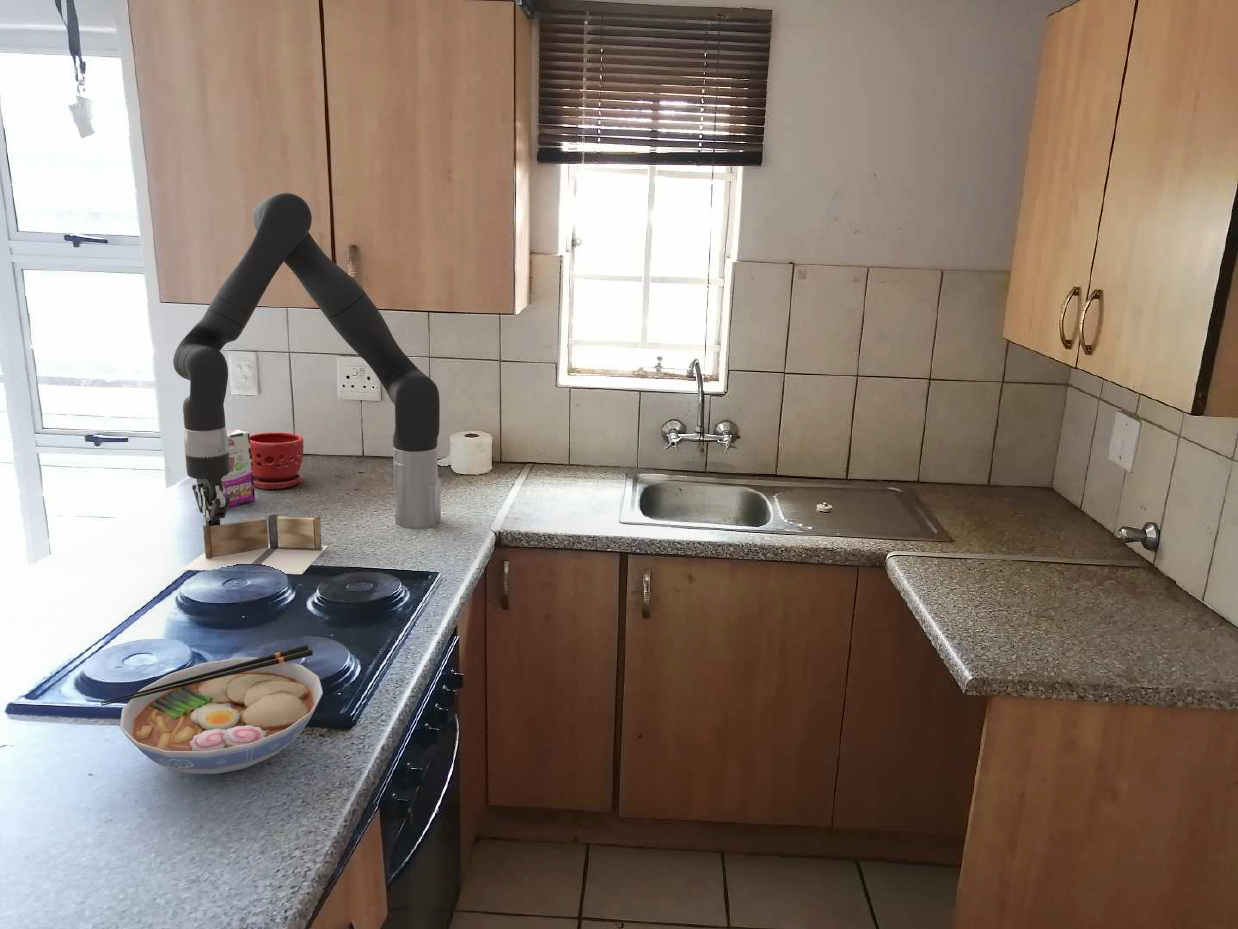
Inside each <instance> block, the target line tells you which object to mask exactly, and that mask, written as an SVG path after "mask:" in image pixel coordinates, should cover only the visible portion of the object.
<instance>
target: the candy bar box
mask: <svg viewBox="0 0 1238 929" xmlns="http://www.w3.org/2000/svg"><path fill="white" fill-rule="evenodd" d="M226 432H227V436H228V446H229V459H230V473H229V474H228V475H226V476H224V477H222V479H221V480H222V484H223V485H224V494H223V496H224V497H229V499H230V503H229V506H228V508H232V507H235V506H239V505H243V504H247V503H252V502H254V501H256V497H255V495H256V493H255V486H254V482H253V470H252V459H251V448H250V432H249V431H246V430H243V429H231V430H226Z"/></svg>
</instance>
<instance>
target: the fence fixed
mask: <svg viewBox="0 0 1238 929" xmlns="http://www.w3.org/2000/svg"><path fill="white" fill-rule="evenodd" d="M267 527H268V542H269V544H270V548H278V547H287V548H313V549H316V550H320V549H322V546H323V545H322V526H321V516H320V515H314V516H313V517H295V516H277V513H269V514H267ZM278 544H279V546H278Z"/></svg>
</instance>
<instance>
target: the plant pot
mask: <svg viewBox="0 0 1238 929" xmlns="http://www.w3.org/2000/svg"><path fill="white" fill-rule="evenodd" d="M249 436H250V448H251V459H252V470H253V482H254V487H256V488H260V490H261V489H263V490H264V489H265V490H281V489H286V488H289V487H292V486H295V485H296V484H298V483H299V482H300V480H301V475H300V474H299V471H300V470H301V467H302V464H303V458H304V438H303V436H301V435H299V434H295V433H290V432H261V433H255V434H249Z"/></svg>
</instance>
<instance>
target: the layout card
mask: <svg viewBox="0 0 1238 929" xmlns="http://www.w3.org/2000/svg"><path fill="white" fill-rule="evenodd" d="M268 544H269V548H266V549H260V550H254V551H249V552H243V553H237V554H232V555H226V556H220V557H215V558H210V559H206V555H205V551H204V552H203V553H202V554H200V555H199V556H198V557H197V558H195V559H194V560H193V561H191V563H189V564H188V565H186V566H185V567H183V569H182V571H203V570H213V569H219V568H221V567H227V566H233V565H236V564H262V565H266V566H270V567H273V568H275V569H278V570H281V571H282V572H284V573H285V574H286V575H303V574H304V573H305V571H306V570H307V569H308V568H309V567H310V566H311V565H312V564H313V563H314V562H315V561H316V560H317V559H318V557H319V556H320V555H321V554H322V553H323V552H324V551H325V550H326V549H327V548H328V546H329V545H322V549H320V550H316V549H313V548H287V547H278V548H270V543H268ZM278 546H279V543H278ZM285 574H284V575H285Z"/></svg>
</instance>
